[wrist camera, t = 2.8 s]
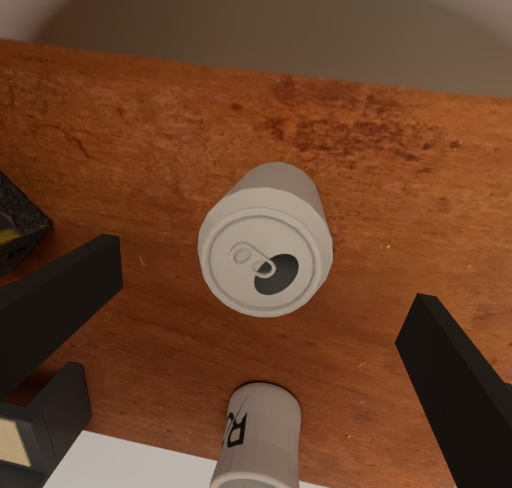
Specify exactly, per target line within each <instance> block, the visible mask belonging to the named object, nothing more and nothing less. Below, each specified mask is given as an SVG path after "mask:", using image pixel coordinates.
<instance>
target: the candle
mask: <svg viewBox="0 0 512 488" xmlns="http://www.w3.org/2000/svg"><path fill="white" fill-rule="evenodd" d="M50 225H51V222H50V220H49V219H48V218H46V217H45V216H44V215H43V214H42V213H41V212H40V211H39V209H38V208H37V207H36V206H34V205H33V204H32V203H31V202H30V201H28V200H27V199H26V197H25V196H24V194H23V193H22V192H21V191H19V190H18V189H17V188H16V187H15V186H14V185H13V184H12V183H11V182H9V181H8V180H7V179H6V178H5V177H4V176H3V175H2V174H1V173H0V277H1V276H3V275H6V274H8V273H9V272H12V268H14V267H16V266H17V264H18V263H19V262H21V261H22V259H23V258H24V257H25V256H26V255H27V254H28V253H29V251H30V250H31V248H32V247H34V245H35V244H36V243H37V242H38V239H39V238H40V237H41V236H42V234H43V233H44V232H45V231H46V230H48V229H50Z"/></svg>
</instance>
